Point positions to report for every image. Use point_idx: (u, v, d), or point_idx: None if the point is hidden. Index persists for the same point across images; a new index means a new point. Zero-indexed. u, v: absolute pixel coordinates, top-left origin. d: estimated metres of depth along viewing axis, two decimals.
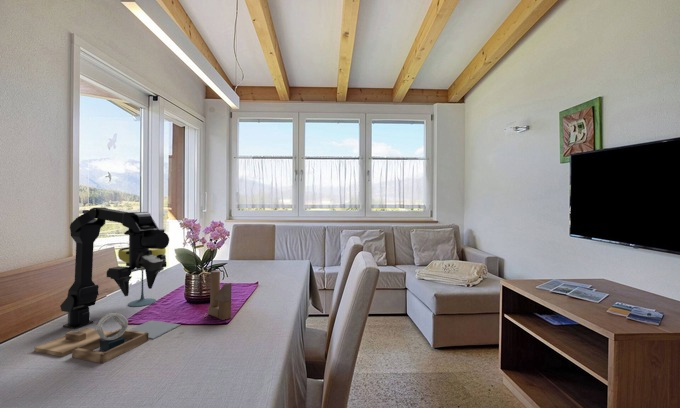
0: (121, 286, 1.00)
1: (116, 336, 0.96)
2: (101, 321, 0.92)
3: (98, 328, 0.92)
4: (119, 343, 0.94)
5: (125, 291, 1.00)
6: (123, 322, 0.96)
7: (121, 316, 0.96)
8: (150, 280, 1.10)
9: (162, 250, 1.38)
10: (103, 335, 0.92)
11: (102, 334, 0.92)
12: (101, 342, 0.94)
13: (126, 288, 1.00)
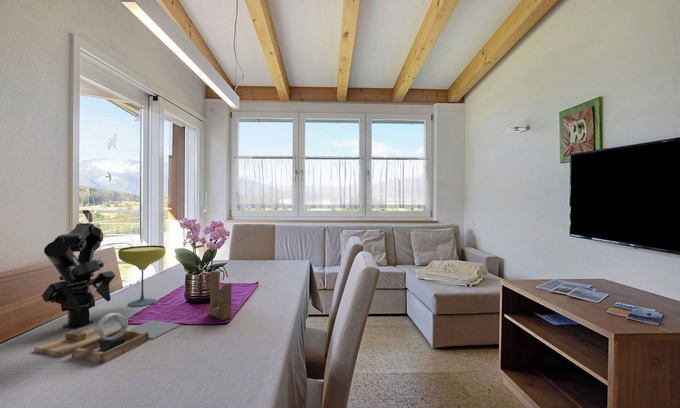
0: (68, 303, 0.92)
1: (116, 336, 0.96)
2: (101, 321, 0.92)
3: (98, 328, 0.92)
4: (119, 343, 0.94)
5: (74, 305, 0.92)
6: (123, 322, 0.96)
7: (121, 316, 0.96)
8: (104, 293, 1.02)
9: (162, 250, 1.38)
10: (103, 335, 0.92)
11: (102, 334, 0.92)
12: (101, 342, 0.94)
13: (73, 301, 0.92)
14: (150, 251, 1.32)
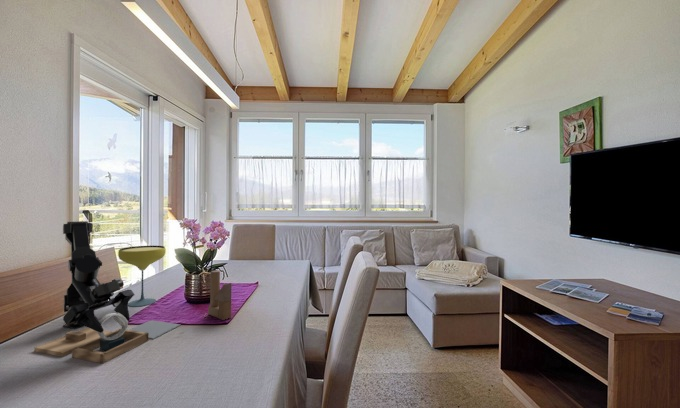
0: (90, 325, 0.90)
1: (116, 336, 0.96)
2: (101, 321, 0.92)
3: None
4: (119, 343, 0.94)
5: (97, 327, 0.90)
6: (123, 322, 0.96)
7: (121, 316, 0.96)
8: (123, 313, 0.99)
9: (162, 250, 1.38)
10: (103, 335, 0.92)
11: (102, 334, 0.92)
12: (101, 342, 0.94)
13: (96, 323, 0.90)
14: (150, 251, 1.32)
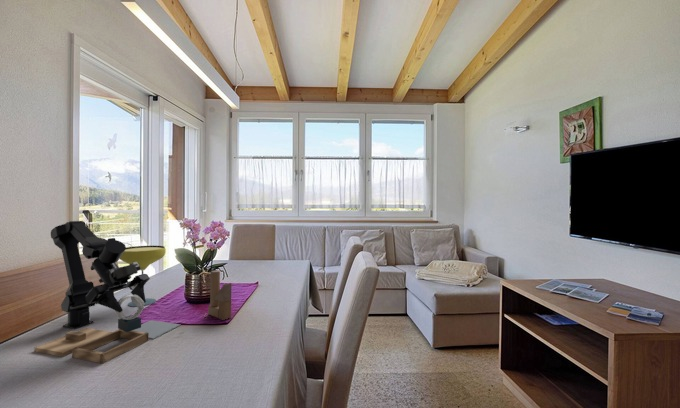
0: (110, 305, 0.96)
1: (133, 316, 1.02)
2: (120, 301, 0.98)
3: None
4: (136, 323, 1.00)
5: (117, 306, 0.96)
6: (140, 303, 1.02)
7: (138, 298, 1.01)
8: (139, 296, 1.05)
9: (162, 250, 1.38)
10: (122, 315, 0.98)
11: (121, 314, 0.98)
12: (120, 321, 1.00)
13: (115, 303, 0.96)
14: (150, 251, 1.32)
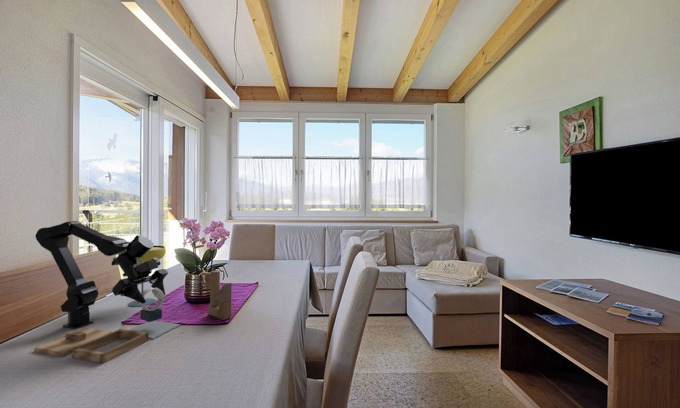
0: (134, 297, 1.04)
1: (154, 308, 1.10)
2: (143, 294, 1.06)
3: None
4: (157, 314, 1.08)
5: (140, 298, 1.04)
6: (161, 296, 1.10)
7: (159, 290, 1.10)
8: None
9: (162, 250, 1.38)
10: (144, 306, 1.06)
11: (144, 305, 1.06)
12: (142, 312, 1.08)
13: (139, 295, 1.04)
14: (150, 251, 1.32)
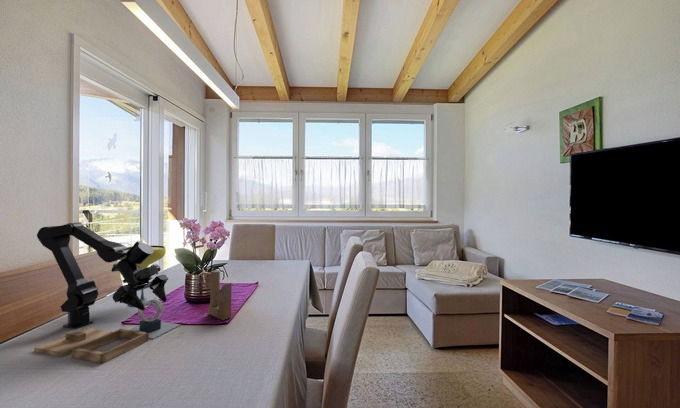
0: (134, 304, 1.04)
1: (153, 318, 1.09)
2: None
3: (139, 310, 1.05)
4: (156, 324, 1.08)
5: (140, 305, 1.04)
6: (159, 306, 1.09)
7: (158, 301, 1.09)
8: (160, 295, 1.14)
9: (162, 250, 1.38)
10: (143, 317, 1.05)
11: (143, 316, 1.05)
12: (141, 323, 1.07)
13: (138, 302, 1.04)
14: None
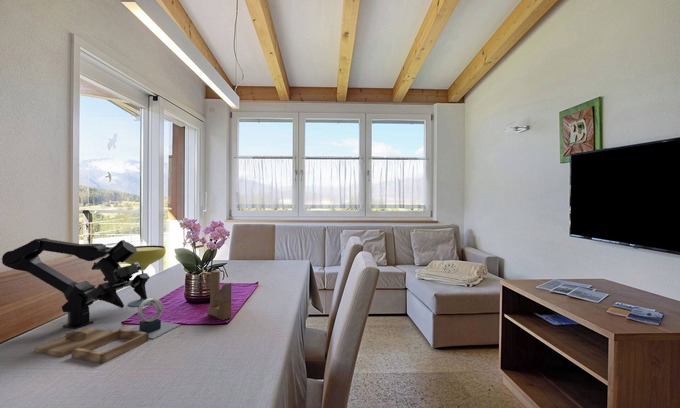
0: (113, 301, 1.06)
1: (153, 318, 1.09)
2: (141, 305, 1.06)
3: (139, 311, 1.05)
4: (156, 324, 1.08)
5: (119, 303, 1.06)
6: (159, 306, 1.09)
7: (158, 301, 1.09)
8: (141, 293, 1.16)
9: (162, 250, 1.38)
10: (143, 317, 1.05)
11: (142, 316, 1.05)
12: (141, 323, 1.07)
13: (118, 299, 1.06)
14: (150, 251, 1.32)
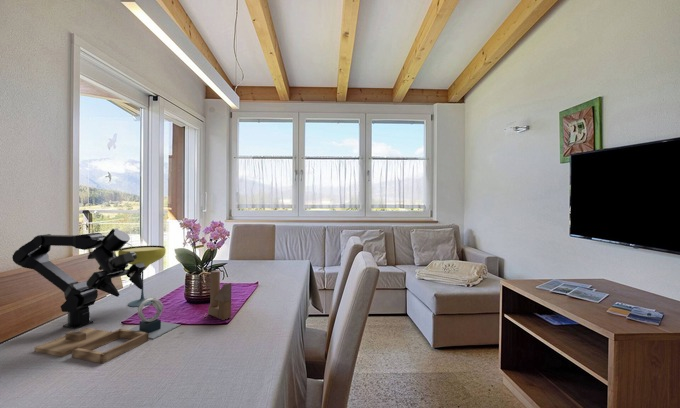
0: (108, 290, 1.04)
1: (153, 318, 1.09)
2: (141, 305, 1.06)
3: (139, 311, 1.05)
4: (156, 324, 1.08)
5: (114, 291, 1.04)
6: (159, 306, 1.09)
7: (158, 301, 1.09)
8: (137, 282, 1.14)
9: (162, 250, 1.38)
10: (143, 317, 1.05)
11: (142, 316, 1.05)
12: (141, 323, 1.07)
13: (113, 288, 1.04)
14: (150, 251, 1.32)
